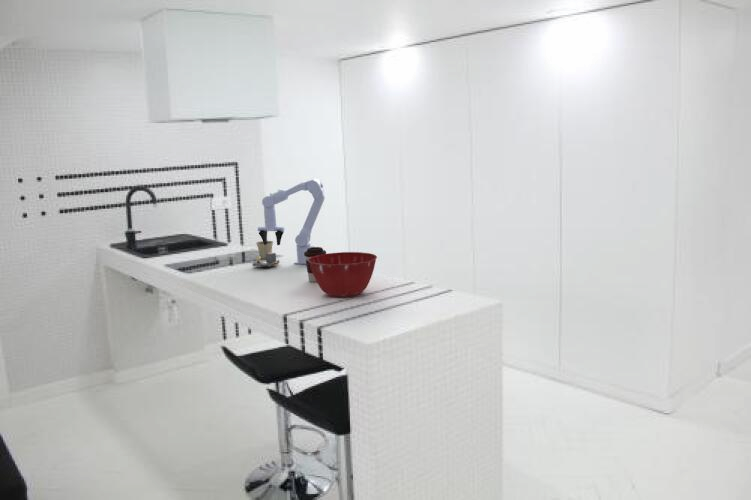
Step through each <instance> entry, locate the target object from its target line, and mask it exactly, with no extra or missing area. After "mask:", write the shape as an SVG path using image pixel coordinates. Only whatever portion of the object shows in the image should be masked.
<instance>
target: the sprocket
mask: <svg viewBox="0 0 751 500" xmlns="http://www.w3.org/2000/svg"><path fill="white" fill-rule="evenodd" d="M279 263H280V260H279V259H276V262H272V263H268V262H266V259H261V258H260V255H259V256H256V260H255V261H253V263H252V264H251V265H252V267H258V268H263V267H264V266H268V267H267V268H271V267H272V266H278V265H279ZM270 266H271V267H270Z"/></svg>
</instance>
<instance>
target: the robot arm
mask: <svg viewBox="0 0 751 500" xmlns="http://www.w3.org/2000/svg"><path fill="white" fill-rule="evenodd" d="M300 191H308V192H309V193H310V194H311V195H312V197H313V199H314V200H313V202H312V205H311V207H310V209H309V211H308V215H306V216H307V217H306V219H305V222H304V223H303V226H302V228H301V230H300V231H299V233H298V234H297V235H296V237H295V239H294V241H295V244H296V247H295V248H296V257H297V258H296V260H297V261H295V262H294V264H295V265H296V264H297V265H301V264H302V265H306V256H304V252H306V251H307V249H308V248H312V247H315V246H313V245H311V243H310V241H311V234H312V230H313V227H314V225H315V222H316V221H317V218H318V215H319V213H320V210H321V209H322V207H323V203H324V201H325V193H324V185H323V183H322V181H321V180H320V179H319V178H313V179H312V178H311V179H310V180H305V181H302V182H300V183H298V184H296V185H294V186H292V187H290V188H288V189H283V188H279V189H277V191H276V192H273V193H269V195H266V196H265V197H263V199H261V200H262V201H261V203H262V205H263V217H264V226H258V227H257V232H258V235H259V236H260V238H261V239H262V240H261V241H263V243H264V245H267V241H268V232H274V235H275V237H276V245H277V246H280V245H281V241H282V237H283V234H284V232H285V227H284V226H277V218H276V207H275V205H278V204H281V203H282V202H285V201H287V200H288V198H289V196H291V195H294V194H296V193H298V192H300Z"/></svg>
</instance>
